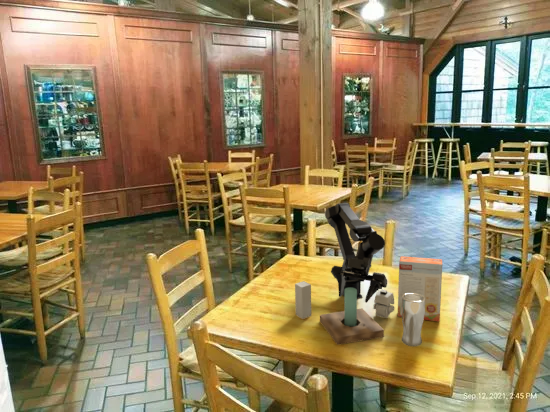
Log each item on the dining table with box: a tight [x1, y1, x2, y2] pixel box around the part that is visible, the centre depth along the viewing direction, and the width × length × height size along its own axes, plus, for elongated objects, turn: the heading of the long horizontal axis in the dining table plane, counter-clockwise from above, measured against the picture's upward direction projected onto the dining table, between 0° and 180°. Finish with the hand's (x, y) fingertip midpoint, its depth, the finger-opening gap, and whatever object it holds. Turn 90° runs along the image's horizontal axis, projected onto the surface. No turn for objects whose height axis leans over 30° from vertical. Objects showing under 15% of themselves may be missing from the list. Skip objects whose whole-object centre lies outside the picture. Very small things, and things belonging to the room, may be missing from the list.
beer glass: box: [401, 293, 425, 347], centre depth 136 cm, size 7×7×15 cm
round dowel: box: [343, 288, 358, 327], centre depth 145 cm, size 4×4×14 cm
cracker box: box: [397, 255, 443, 322], centre depth 151 cm, size 14×6×21 cm, turn 70°
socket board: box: [319, 308, 385, 346], centre depth 146 cm, size 16×16×2 cm
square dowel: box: [294, 280, 312, 320], centre depth 155 cm, size 4×4×12 cm
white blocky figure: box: [373, 289, 395, 319], centre depth 152 cm, size 6×7×10 cm
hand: (352, 299), depth 147 cm, fingers open, 9 cm apart
